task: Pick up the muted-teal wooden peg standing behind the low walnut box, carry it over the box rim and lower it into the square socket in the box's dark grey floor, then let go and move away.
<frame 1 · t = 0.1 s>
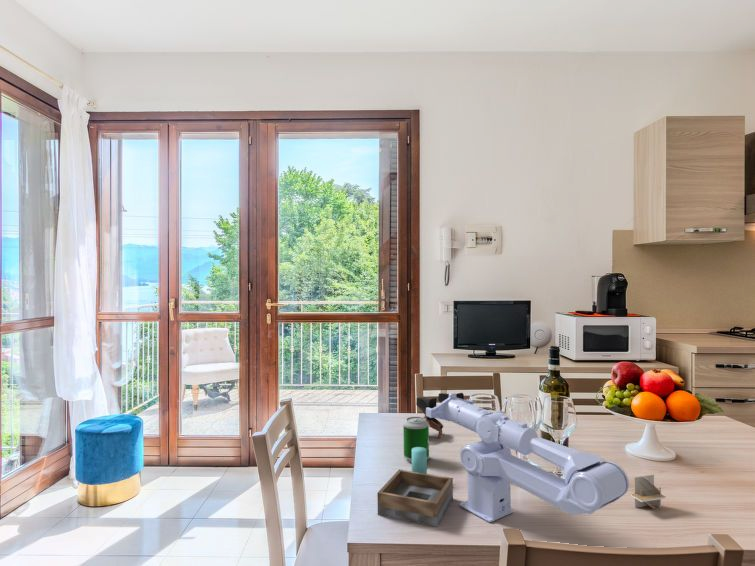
hand: (428, 399, 124), 22 cm above the table, tool horizontal, fingers open, 7 cm apart
architectural model: (647, 510, 108), on the table
peg: (419, 479, 125), on the table
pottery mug: (426, 438, 158), on the table
soda can: (416, 460, 138), on the table
socket box: (416, 506, 110), on the table
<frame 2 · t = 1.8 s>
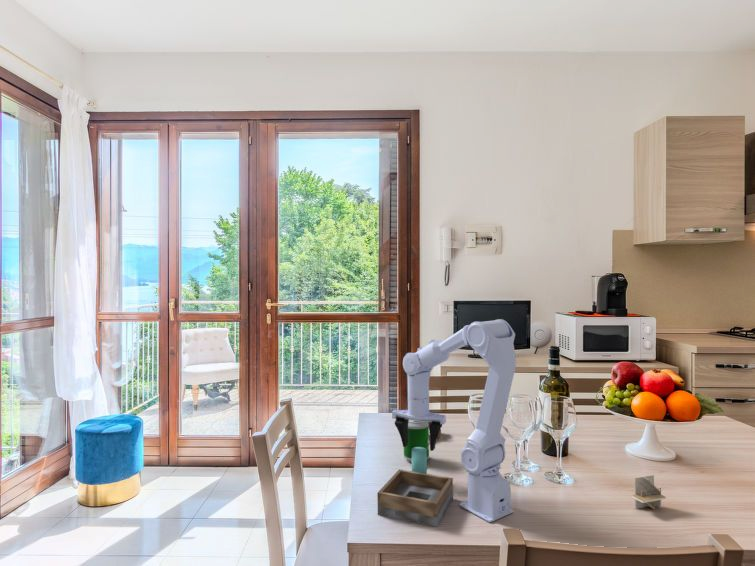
hand: (418, 447, 125), 9 cm above the table, tool pointing down, fingers open, 7 cm apart
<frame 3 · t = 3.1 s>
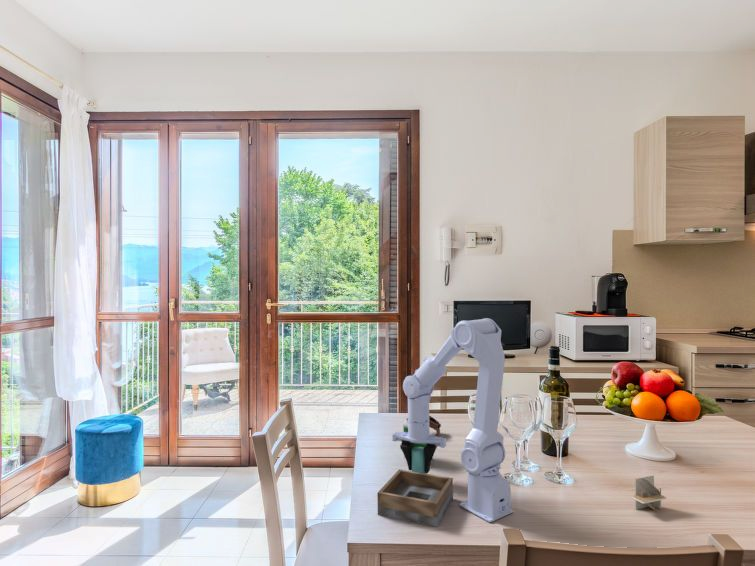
hand: (419, 470, 125), 2 cm above the table, tool pointing down, fingers closed on peg, 4 cm apart
peg: (419, 479, 125), on the table, touching gripper
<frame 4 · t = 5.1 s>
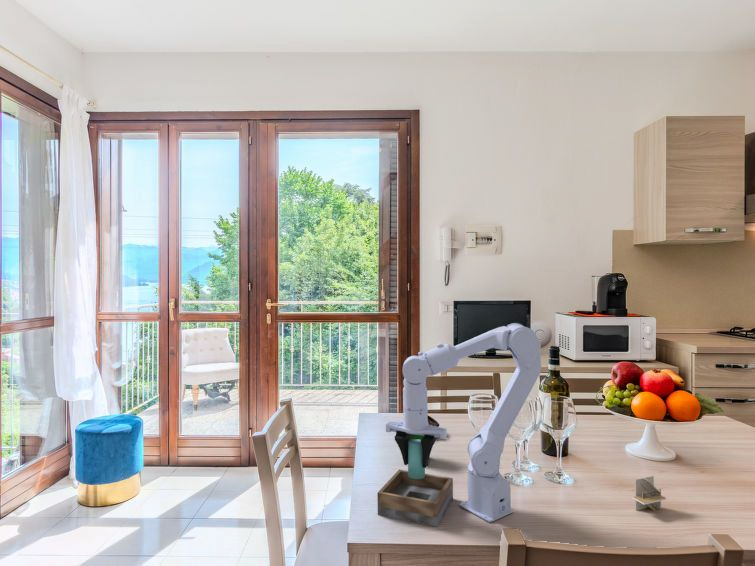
hand: (416, 465, 110), 10 cm above the table, tool pointing down, fingers closed on peg, 4 cm apart
peg: (416, 475, 110), point 7 cm above the table, touching gripper
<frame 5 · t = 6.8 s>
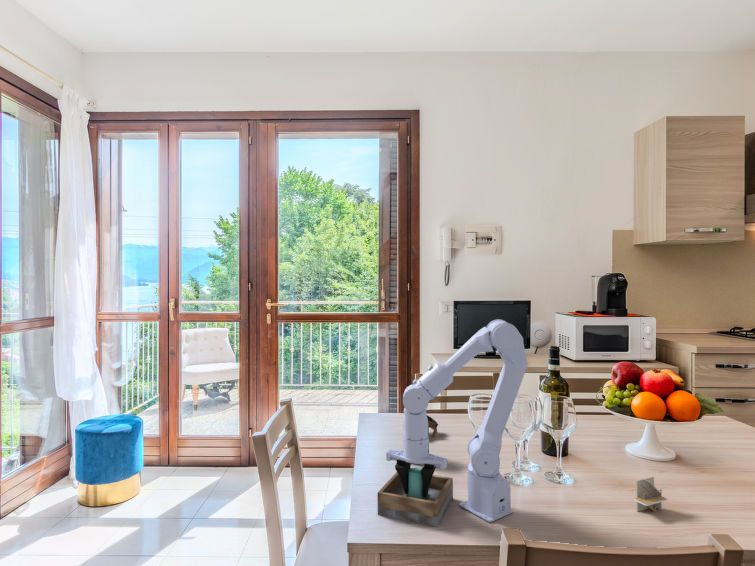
hand: (416, 494, 110), 3 cm above the table, tool pointing down, fingers closed on peg, 4 cm apart
peg: (416, 504, 110), resting in socket box, touching gripper
when the fingers open (3 cm above the table, at t = 7.1 s): peg stays where it is, resting in socket box.
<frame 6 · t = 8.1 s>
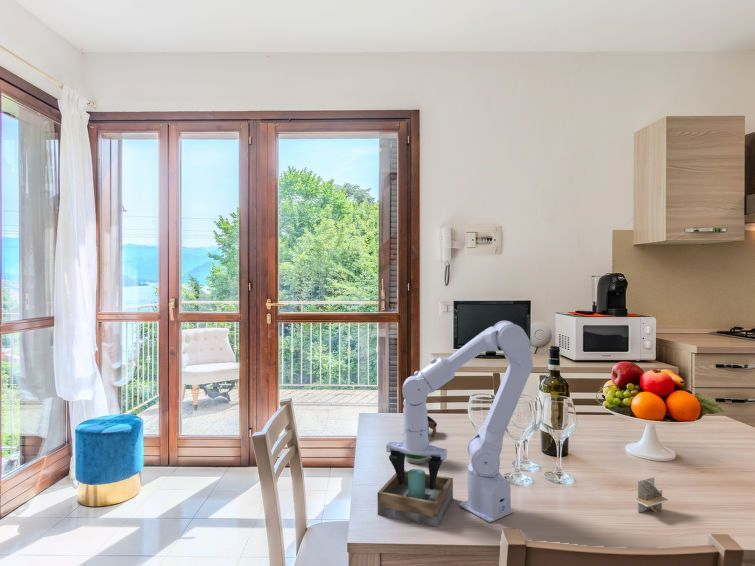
hand: (416, 485, 110), 5 cm above the table, tool pointing down, fingers open, 7 cm apart
peg: (416, 506, 110), resting in socket box
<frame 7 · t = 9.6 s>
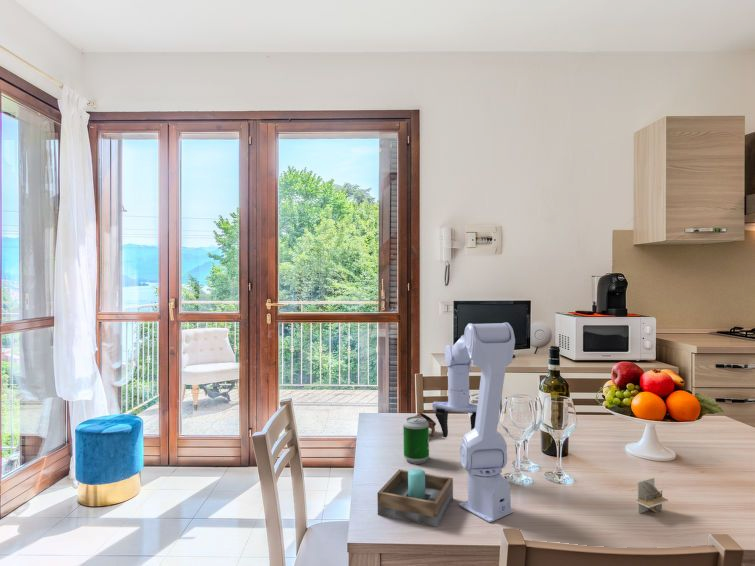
hand: (459, 438, 128), 10 cm above the table, tool pointing down, fingers open, 7 cm apart
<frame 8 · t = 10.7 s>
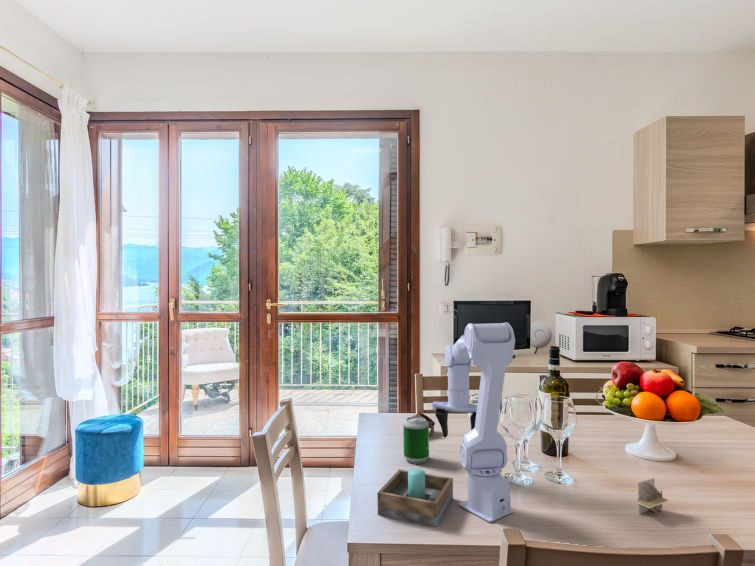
hand: (459, 438, 128), 10 cm above the table, tool pointing down, fingers open, 7 cm apart
at the end: peg 0.1 cm off-centre on the socket box, point 0.0 cm above the socket box's base; peg tilted 0°; the gripper is holding nothing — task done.
